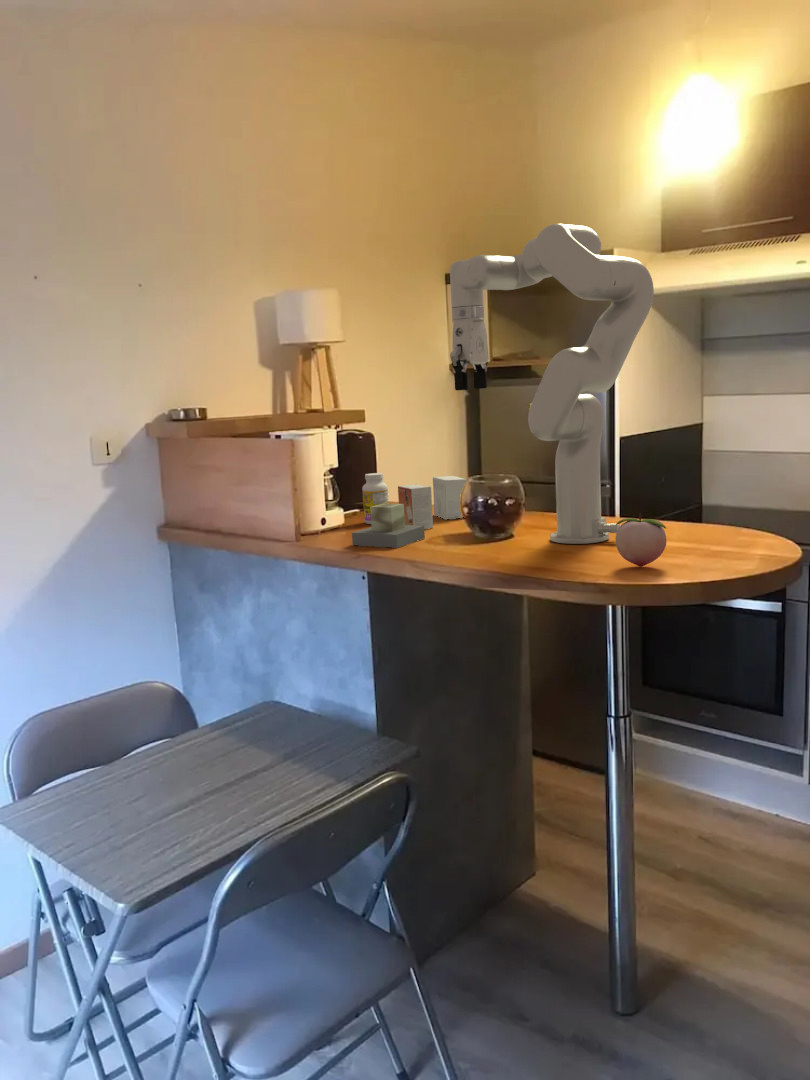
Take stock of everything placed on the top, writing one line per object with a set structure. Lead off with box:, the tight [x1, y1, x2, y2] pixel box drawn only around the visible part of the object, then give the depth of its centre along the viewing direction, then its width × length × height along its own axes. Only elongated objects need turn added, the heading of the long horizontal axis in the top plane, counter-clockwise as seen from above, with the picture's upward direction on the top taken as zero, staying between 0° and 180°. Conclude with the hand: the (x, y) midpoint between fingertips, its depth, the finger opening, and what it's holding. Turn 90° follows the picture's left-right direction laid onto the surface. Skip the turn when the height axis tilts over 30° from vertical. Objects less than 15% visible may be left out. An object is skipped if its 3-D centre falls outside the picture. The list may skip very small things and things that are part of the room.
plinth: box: [351, 525, 426, 549], centre depth 210 cm, size 12×12×3 cm
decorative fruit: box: [615, 513, 668, 568], centre depth 168 cm, size 9×8×10 cm
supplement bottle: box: [361, 472, 390, 525], centre depth 239 cm, size 7×7×13 cm
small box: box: [397, 483, 434, 530], centre depth 227 cm, size 8×6×10 cm
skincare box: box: [432, 475, 468, 521], centre depth 242 cm, size 10×6×10 cm, turn 16°
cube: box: [371, 503, 405, 532], centre depth 209 cm, size 6×6×6 cm
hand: (471, 389), depth 218 cm, fingers open, 9 cm apart
